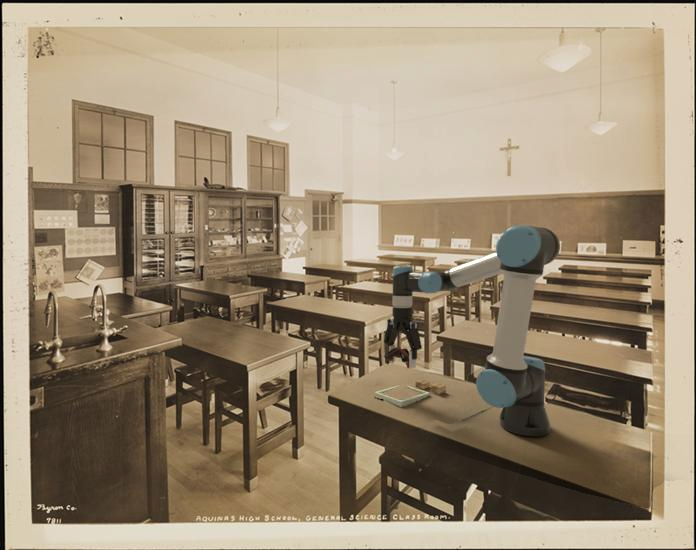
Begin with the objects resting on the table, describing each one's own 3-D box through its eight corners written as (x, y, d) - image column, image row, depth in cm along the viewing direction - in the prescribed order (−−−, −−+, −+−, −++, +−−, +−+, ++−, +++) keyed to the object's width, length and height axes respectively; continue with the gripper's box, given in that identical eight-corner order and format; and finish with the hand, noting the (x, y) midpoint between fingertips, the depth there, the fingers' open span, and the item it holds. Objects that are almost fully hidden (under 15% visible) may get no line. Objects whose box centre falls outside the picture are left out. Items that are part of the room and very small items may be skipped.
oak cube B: (429, 391, 163) (429, 381, 163) (423, 393, 161) (423, 383, 160) (422, 389, 166) (422, 379, 166) (415, 391, 164) (415, 381, 164)
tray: (430, 397, 156) (430, 392, 155) (401, 407, 145) (401, 402, 145) (402, 389, 166) (402, 384, 166) (374, 397, 156) (374, 392, 156)
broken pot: (407, 371, 148) (396, 351, 148) (387, 378, 153) (377, 359, 154) (419, 358, 158) (409, 339, 158) (401, 365, 163) (390, 347, 163)
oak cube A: (445, 395, 158) (445, 385, 158) (439, 397, 156) (439, 387, 156) (437, 393, 162) (437, 383, 161) (430, 395, 159) (431, 385, 159)
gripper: (432, 308, 148) (431, 369, 149) (388, 303, 166) (388, 357, 166) (418, 310, 144) (418, 372, 144) (374, 304, 161) (374, 360, 162)
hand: (402, 364), depth 155 cm, fingers closed on broken pot, 10 cm apart
